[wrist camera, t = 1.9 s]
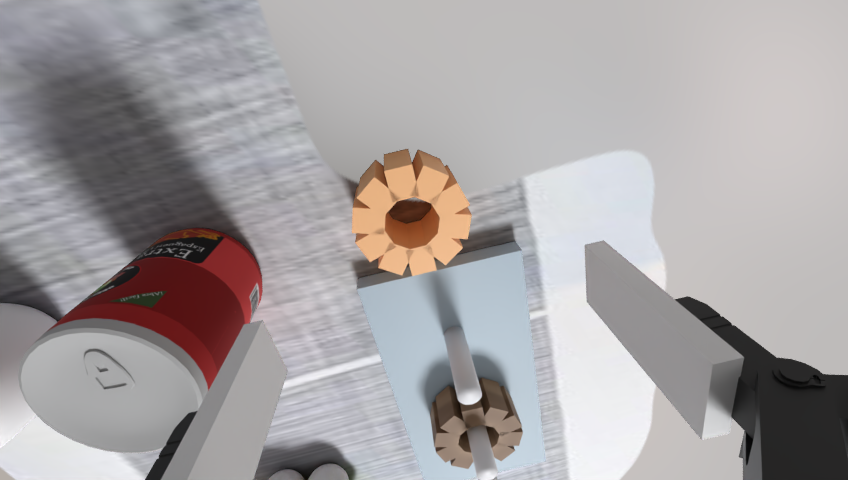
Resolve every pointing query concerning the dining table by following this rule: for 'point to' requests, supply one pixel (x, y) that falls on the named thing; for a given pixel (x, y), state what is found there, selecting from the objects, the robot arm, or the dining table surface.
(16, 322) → the mug
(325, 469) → the multicolored petal toy
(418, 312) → the gear board
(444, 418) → the gear
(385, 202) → the gear
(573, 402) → the dining table surface
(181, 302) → the canned food
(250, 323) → the robot arm
